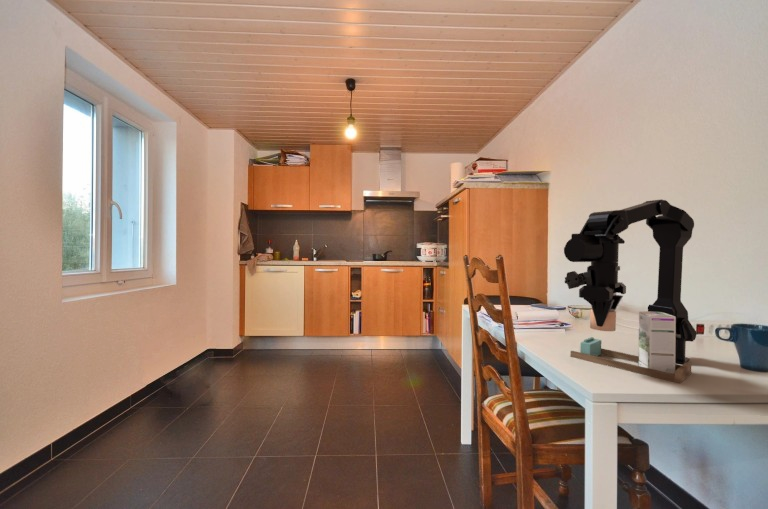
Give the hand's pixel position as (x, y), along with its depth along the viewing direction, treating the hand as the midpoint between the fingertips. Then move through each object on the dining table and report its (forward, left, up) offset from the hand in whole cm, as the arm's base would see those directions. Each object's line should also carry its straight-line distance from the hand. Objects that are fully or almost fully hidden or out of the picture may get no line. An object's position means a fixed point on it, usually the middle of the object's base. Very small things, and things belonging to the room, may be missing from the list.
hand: (602, 324), depth 87 cm
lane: (-10, +2, -12) cm, 15 cm away
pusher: (-10, -6, -12) cm, 17 cm away
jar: (0, 0, -1) cm, 1 cm away
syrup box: (-10, +8, -12) cm, 18 cm away
